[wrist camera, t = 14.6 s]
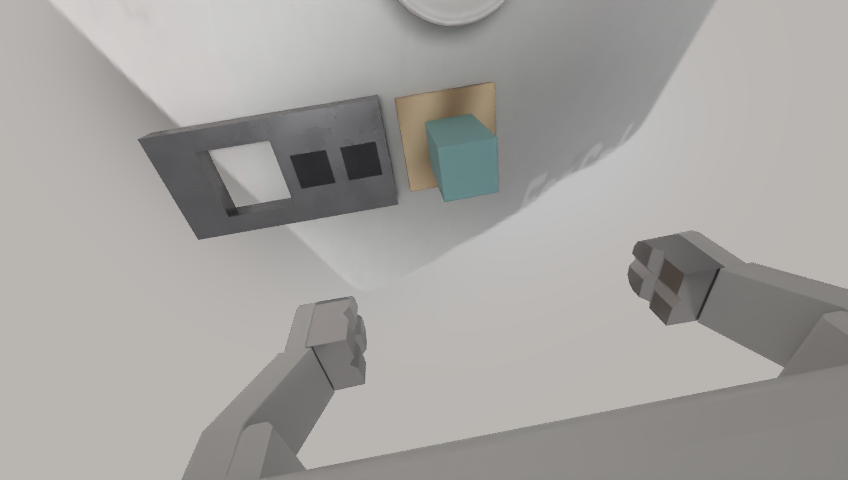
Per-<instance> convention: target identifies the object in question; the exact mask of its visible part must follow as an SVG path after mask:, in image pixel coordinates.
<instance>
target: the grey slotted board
mask: <svg viewBox="0 0 848 480" xmlns="http://www.w3.org/2000/svg"><path fill="white" fill-rule="evenodd" d="M267 140H270V143H271V145H272V148H273V151H274V153H275V156H276V158H277V161H278V163H279V166H280V169H281V171H282V174H283V176H284V179H285V181H286V184H287V187H288V189H289V192H290V194H291V197H292V198H289V199H283V200H277V201H272V202H266V203H260V204H255V205H249V206H243V207H237V208H236V207H235V205H234V203H233V201H232V199H231V197H230V195H229V193H228V191H227V189H226V187H225V185H224V183H223V181H222V179H221V177H220V175H219V173H218V171H217V169H216V167H215V165H214V163H213V161H212V159H211V157H210V155H209V153H208V150H214V149H220V148H226V147H231V146H237V145H243V144H249V143H255V142H261V141H267ZM138 141H139V142H140V144H141V146H142V147H143V149H144V151H145V152H146V154H147V156H148V157H149V159H150V160H151V162H152V164H153V165H154V167H155V169H156V170H157V172H158V174H159V175H160V177H161V179H162V180H163V182H164V183H165V185H166V187H167V189H168V190H169V192H170V194H171V195H172V197H173V199H174V200H175V202H176V204H177V205H178V207H179V208H180V210H181V212H182V214H183V215H184V217H185V218H186V220H187V222H188V223H189V225H190V227H191V228H192V230H193V232H194V233H195V235H196V237H197V238H198V240H200V239H205V238H210V237H217V236H222V235H228V234H234V233H239V232H244V231H250V230H256V229H261V228H267V227H273V226H279V225H284V224H290V223H296V222H301V221H307V220H313V219H318V218H324V217H330V216H335V215H341V214H347V213H352V212H358V211H364V210H369V209H375V208H380V207H386V206H392V205H397V204H398V199H397V193H396V188H395V183H394V178H393V172H392V167H391V162H390V157H389V152H388V147H387V142H386V137H385V132H384V127H383V122H382V117H381V112H380V107H379V101H378V96H377V95H375V96H369V97H363V98H357V99H351V100H345V101H339V102H333V103H327V104H321V105H315V106H309V107H303V108H297V109H291V110H285V111H279V112H273V113H267V114H261V115H255V116H249V117H243V118H237V119H231V120H225V121H219V122H213V123H207V124H201V125H195V126H189V127H184V128H178V129H172V130H166V131H160V132H154V133H150V134H148V135H146V136H144V137H142V138H140V139H138Z"/></svg>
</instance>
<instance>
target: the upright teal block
mask: <svg viewBox="0 0 848 480" xmlns="http://www.w3.org/2000/svg"><path fill="white" fill-rule="evenodd" d="M425 128H426V135H427V142H428V150H429V157H430V164H431V168H432V171H433V174H434V176H435V179H436V181H437V184H438V186H439V189H440V192H441V194H442V197H443V199H444V202H448V201H453V200H458V199H464V198H469V197H475V196H480V195H485V194H491V193H496V192H499V191H498V148H497V137H496V136H495V135H494V134H493V133H492V132H491V131H490V130H489V129H487V128H486V127H485V126H484V125H483V124H482V123H481V122H480V121H479V120H478V119H477V118H476V117H474V116H473V115H472V114H466V115H460V116H454V117H449V118H443V119H438V120H432V121H427V122H425Z"/></svg>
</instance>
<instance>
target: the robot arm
mask: <svg viewBox="0 0 848 480" xmlns="http://www.w3.org/2000/svg"><path fill="white" fill-rule="evenodd" d="M632 254H633V255H634V256H635V258H636V259H635V260H634V261H633V262H632V263H631V264H630V266H629V270H628V279H629V283H630V285H631V287H632V289H633V291H634V292H635V293H636V294H637V295H638V296H639V297H641V298H643V299H645V300H648V301H650V307H649V308H650V309H651V310H652V311H653V312H654V313H655V314H656V315H657V316H658V317H659V318H660V320H661V321H662V322H663V323H664V324H665V325H673V324H679V323H684V322H691V321H696V320H698V322H699V323H700V324H702V325H704V326H706V327H708V328H710V329H712V330H714V331H716V332H718V333H720V334H721V335H723V336H725V337H727V338H729V339H731V340H733V341H735V342H737V343H739V344H741V345H742V346H744V347H746V348H748V349H750V350H752V351H754V352H756V353H758V354H760V355H762V356H763V357H766V358H767V359H769V360H771V361H773V362H775V363H777V364H779V365H781V366H783V367H784V369H783V370H782V372H781V373H780V375H779V376H778V377H777V378H775V379H770V380H764V381H759V382H754V383H749V384H744V385H739V386H733V387H728V388H723V389H718V390H713V391H708V392H703V393H698V394H693V395H687V396H682V397H678V398H672V399H667V400H662V401H657V402H652V403H647V404H641V405H637V406H632V407H626V408H621V409H616V410H611V411H606V412H600V413H595V414H590V415H585V416H580V417H575V418H570V419H565V420H560V421H555V422H549V423H544V424H539V425H534V426H530V427H524V428H519V429H514V430H509V431H504V432H498V433H493V434H488V435H483V436H478V437H473V438H468V439H463V440H457V441H452V442H447V443H442V444H437V445H432V446H427V447H422V448H416V449H411V450H406V451H401V452H396V453H391V454H386V455H381V456H375V457H370V458H365V459H361V460H355V461H350V462H345V463H340V464H334V465H330V466H325V467H319V468H314V469H309V470H306V469H305V467H304V466H303V465H302V463H301V462H300V461H299V460H298V458H297V457H296V455H297V453H298V452H299V450H300V448H301V447H302V445H303V443H304V442H305V440H306V438H307V437H308V435H309V433H310V432H311V430H312V428H313V427H314V425H315V424H316V422H317V420H318V419H319V417H320V415H321V414H322V412H323V411H324V409H325V407H326V406H327V404H328V402H329V401H330V399H331V397H332V396H333V394H334V391H335V390H339V389H344V388H348V387H353V386H357V385H362V384H365V371H366V370H365V369H366V362H365V359H364V356H363V353H364V352H365V350H366V344H367V340H366V330H365V326H364V322H363V320H362V317H361V316H359V315H357V307H358V306H357V303H356V301H355V298H354V297H352V296H350V297H344V298H338V299H332V300H326V301H320V302H317V303H310V304H305V305H300V306H299V307H298V308H297V310H296V314H295V317H294V320H293V324H292V327H291V331H290V334H289V338H288V341H287V345H286V348H285V352H284V353H279V354H278V355H277V356H276V357H275V358H274V359H273V360H272V361H271V362H270V363H269V364H268V365H267V366H266V367H265V368H264V369H263V370H262V371H261V372H260V373H259V374H258V375H257V376H256V378H255V379H254V380H253V381H252V382H251V383H250V384H249V385H248V386H247V387H246V388H245V389H244V390H243V391H242V392H241V393H240V394H239V395H238V396H237V397H236V398H235V399H234V400H233V401H232V402H231V403H230V404H229V405H228V406H227V407H226V408H225V409H224V411H222V413H220V415H219V416H218V417H217V418H216V419H215V420H214V421H213V422H212V423H211V424H210V425H209V426H208V427H207V428H206V429H205V430H204V431H203V432H202V434H201V436H200V438H199V441H198V443H197V445H196V448H195V450H194V452H193V454H192V457H191V459H190V461H189V464H188V466H187V468H186V471H185V473H184V475H183V478H182V480H848V289H845V288H841V287H838V286H834V285H831V284H827V283H824V282H820V281H816V280H813V279H809V278H806V277H802V276H798V275H795V274H791V273H788V272H784V271H781V270H777V269H773V268H770V267H766V266H763V265H759V264H756V263H747V264H746V263H745V262H743V261H742V260H740V259H739V258H737V257H736V256H734V255H733V254H731V253H730V252H728V251H727V250H725V249H724V248H722V247H721V246H719V245H717V244H716V243H714V242H713V241H711V240H710V239H708V238H707V237H705V236H704V235H702V234H701V233H699V232H696V231H692V230H691V231H687V232H682V233H677V234H673V235H669V236H664V237H658V238H653V239H648V240H643V241H638V242H637V243H636V245H635V246H634V249H633V253H632Z"/></svg>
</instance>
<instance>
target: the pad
mask: <svg viewBox="0 0 848 480" xmlns="http://www.w3.org/2000/svg"><path fill="white" fill-rule="evenodd" d="M395 102H396V108H397V114H398V119H399V125H400V131H401V137H402V143H403V149H404V155H405V160H406V166H407V172H408V178H409V184H410V190H411V191H417V190H422V189H428V188H434V187H439V186H438V184H437V181H436V179H435V176H434V174H433V171H432V168H431V164H430V157H429V150H428V142H427V135H426V128H425V122H427V121H432V120H438V119H443V118H449V117H454V116H460V115H466V114H472V115H473V116H474V117H476V118H477V119H478V120H479V121H480V122H481V123H482V124H483V125H484V126H485V127H486V128H487V129H489V130H490V131H491V132H492V133H493V134H494V135H495V136H496V132H495V83H494V82H488V83H482V84H476V85H470V86H465V87H459V88H453V89H447V90H441V91H435V92H429V93H423V94H417V95H411V96H405V97H399V98H395Z"/></svg>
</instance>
